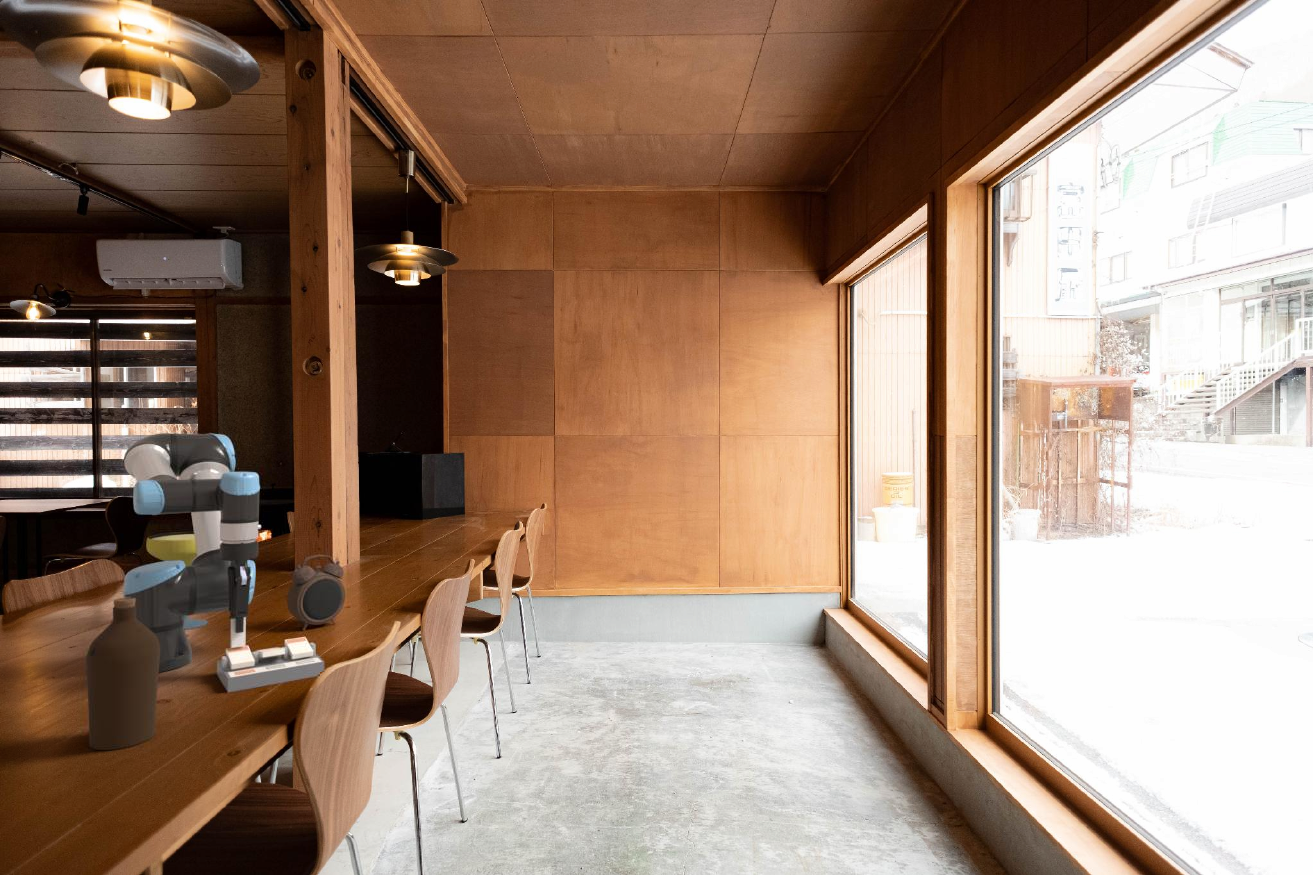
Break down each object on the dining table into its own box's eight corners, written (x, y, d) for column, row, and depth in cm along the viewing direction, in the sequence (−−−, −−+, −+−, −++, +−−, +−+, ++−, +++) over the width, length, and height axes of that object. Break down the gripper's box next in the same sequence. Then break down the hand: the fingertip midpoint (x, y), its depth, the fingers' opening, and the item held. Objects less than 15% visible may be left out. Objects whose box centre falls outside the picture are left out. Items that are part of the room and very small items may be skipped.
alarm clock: (297, 634, 196) (299, 560, 196) (284, 629, 200) (286, 557, 200) (348, 623, 208) (349, 553, 207) (335, 619, 212) (336, 550, 212)
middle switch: (262, 657, 160) (262, 651, 161) (255, 656, 166) (255, 650, 166) (284, 653, 163) (284, 648, 163) (277, 652, 169) (276, 647, 169)
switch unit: (227, 692, 153) (228, 667, 153) (216, 674, 163) (217, 651, 163) (324, 674, 165) (324, 651, 165) (307, 659, 175) (308, 637, 175)
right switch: (292, 659, 164) (292, 654, 164) (284, 644, 170) (284, 639, 170) (313, 655, 167) (313, 650, 167) (304, 641, 173) (305, 636, 173)
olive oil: (136, 751, 124) (138, 606, 124) (69, 753, 123) (71, 606, 123) (171, 726, 135) (173, 592, 135) (110, 727, 134) (112, 592, 134)
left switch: (231, 669, 157) (231, 664, 157) (225, 653, 163) (225, 648, 162) (254, 665, 160) (254, 660, 159) (247, 650, 165) (248, 644, 165)
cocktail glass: (237, 620, 209) (239, 533, 209) (181, 636, 191) (182, 542, 191) (187, 614, 214) (189, 529, 214) (128, 630, 196) (129, 538, 196)
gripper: (264, 543, 160) (262, 650, 160) (252, 536, 170) (250, 636, 170) (225, 546, 155) (223, 656, 156) (215, 538, 166) (213, 642, 166)
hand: (237, 645), depth 163 cm, fingers closed
